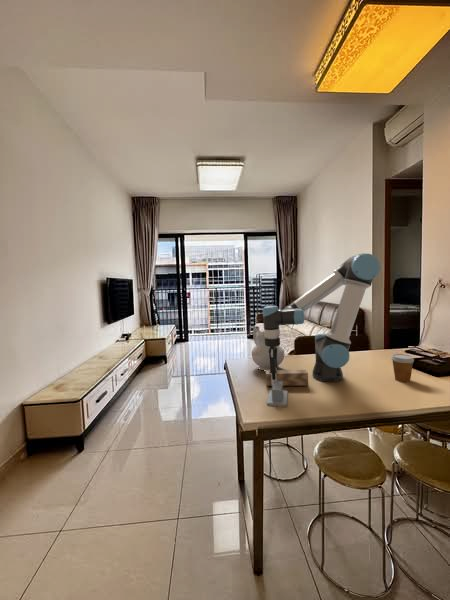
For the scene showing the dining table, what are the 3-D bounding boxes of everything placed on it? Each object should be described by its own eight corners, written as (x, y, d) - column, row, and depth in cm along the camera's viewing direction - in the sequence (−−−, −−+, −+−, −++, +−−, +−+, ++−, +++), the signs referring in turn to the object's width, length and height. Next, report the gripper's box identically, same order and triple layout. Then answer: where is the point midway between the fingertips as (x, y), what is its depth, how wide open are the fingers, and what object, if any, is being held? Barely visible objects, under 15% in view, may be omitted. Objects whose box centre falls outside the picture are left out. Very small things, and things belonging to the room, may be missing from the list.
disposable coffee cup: (411, 377, 135) (411, 354, 135) (416, 384, 127) (416, 359, 126) (390, 375, 139) (389, 353, 139) (392, 382, 131) (392, 358, 130)
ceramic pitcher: (243, 370, 161) (239, 330, 157) (260, 360, 175) (258, 323, 172) (274, 378, 146) (271, 334, 143) (291, 366, 161) (288, 325, 158)
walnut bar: (306, 381, 134) (305, 369, 134) (308, 385, 129) (307, 373, 129) (266, 381, 136) (265, 370, 136) (266, 385, 131) (266, 373, 131)
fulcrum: (287, 392, 124) (287, 380, 123) (286, 406, 110) (286, 392, 110) (270, 391, 126) (269, 379, 126) (267, 405, 112) (266, 391, 112)
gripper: (266, 333, 142) (269, 376, 143) (262, 341, 124) (265, 390, 125) (280, 333, 140) (283, 376, 141) (278, 341, 122) (281, 391, 123)
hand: (274, 383), depth 133 cm, fingers closed on walnut bar, 6 cm apart
